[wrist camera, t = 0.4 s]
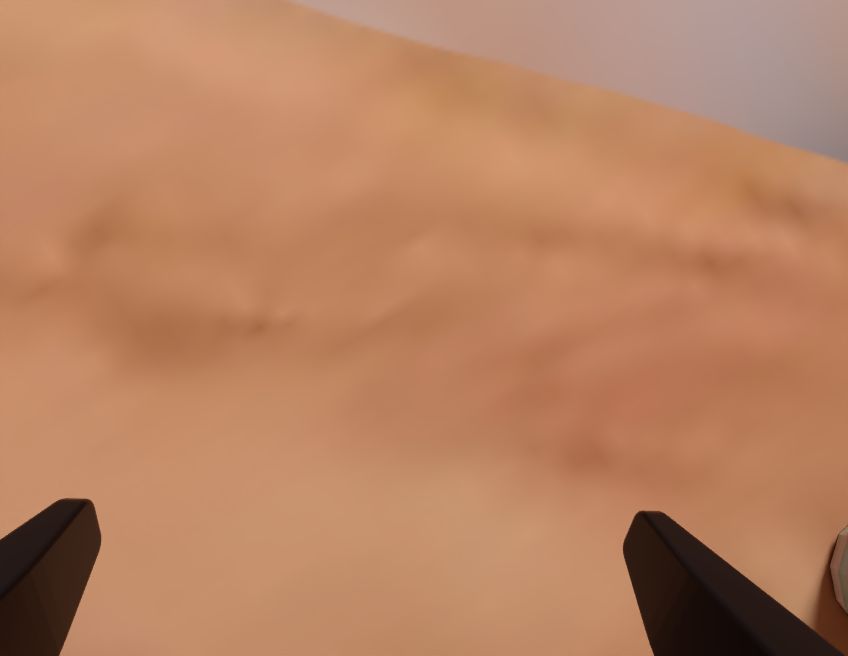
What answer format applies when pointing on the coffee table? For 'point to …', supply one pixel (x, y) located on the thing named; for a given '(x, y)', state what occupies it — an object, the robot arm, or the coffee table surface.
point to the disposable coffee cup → (841, 569)
